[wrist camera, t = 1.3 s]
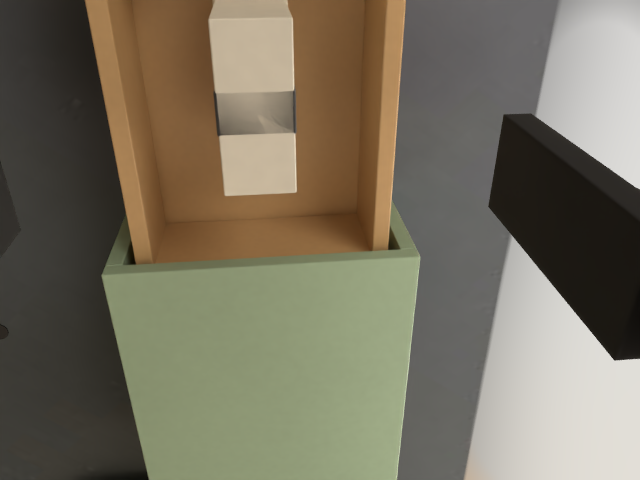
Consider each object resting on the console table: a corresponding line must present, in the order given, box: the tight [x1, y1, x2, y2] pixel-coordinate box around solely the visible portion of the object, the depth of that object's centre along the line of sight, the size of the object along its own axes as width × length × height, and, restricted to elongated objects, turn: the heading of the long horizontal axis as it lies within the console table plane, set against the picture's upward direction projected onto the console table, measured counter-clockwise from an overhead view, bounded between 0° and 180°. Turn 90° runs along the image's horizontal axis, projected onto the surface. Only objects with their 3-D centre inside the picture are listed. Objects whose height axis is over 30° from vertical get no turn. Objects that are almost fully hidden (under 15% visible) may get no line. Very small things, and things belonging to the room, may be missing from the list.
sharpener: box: [208, 0, 297, 196], centre depth 23 cm, size 7×3×9 cm, turn 0°
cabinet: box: [102, 200, 420, 480], centre depth 34 cm, size 18×15×8 cm
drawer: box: [85, 0, 406, 265], centre depth 25 cm, size 21×13×6 cm, turn 0°
